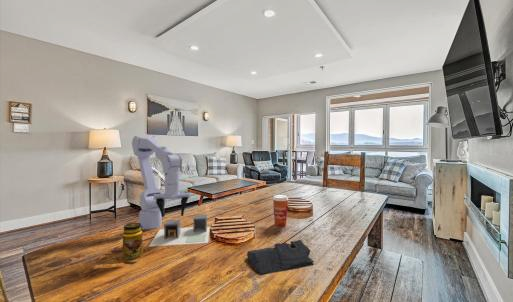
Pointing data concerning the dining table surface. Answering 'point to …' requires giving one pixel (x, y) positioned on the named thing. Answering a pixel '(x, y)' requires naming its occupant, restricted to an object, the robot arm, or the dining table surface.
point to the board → (182, 237)
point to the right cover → (200, 221)
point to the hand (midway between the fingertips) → (172, 215)
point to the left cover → (172, 224)
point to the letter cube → (172, 232)
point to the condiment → (132, 242)
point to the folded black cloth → (280, 257)
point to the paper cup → (280, 210)
